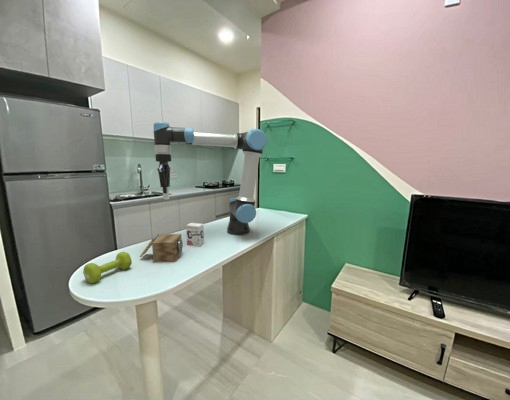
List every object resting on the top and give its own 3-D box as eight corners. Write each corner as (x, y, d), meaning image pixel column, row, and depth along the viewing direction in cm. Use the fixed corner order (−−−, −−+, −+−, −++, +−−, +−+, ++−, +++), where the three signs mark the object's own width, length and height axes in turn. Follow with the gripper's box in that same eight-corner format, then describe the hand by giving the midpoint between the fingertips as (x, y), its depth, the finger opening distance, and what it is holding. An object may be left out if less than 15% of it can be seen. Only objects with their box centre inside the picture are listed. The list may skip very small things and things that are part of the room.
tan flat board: (159, 234, 111) (157, 233, 110) (154, 239, 104) (152, 238, 104) (147, 251, 112) (145, 250, 111) (140, 257, 105) (139, 256, 105)
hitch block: (182, 251, 115) (181, 234, 114) (175, 261, 104) (174, 242, 102) (162, 251, 115) (161, 234, 113) (153, 262, 103) (152, 242, 101)
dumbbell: (92, 286, 83) (90, 268, 82) (82, 281, 87) (79, 264, 86) (134, 268, 97) (133, 253, 96) (123, 264, 101) (122, 249, 100)
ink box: (186, 245, 125) (185, 224, 122) (191, 241, 129) (190, 222, 127) (200, 246, 122) (199, 226, 120) (204, 243, 127) (203, 223, 125)
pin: (182, 248, 112) (182, 238, 111) (179, 253, 106) (179, 242, 105) (157, 249, 111) (157, 238, 110) (153, 254, 106) (152, 242, 105)
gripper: (160, 154, 120) (163, 197, 124) (150, 153, 107) (154, 201, 111) (174, 154, 121) (176, 197, 125) (166, 153, 108) (169, 201, 112)
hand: (166, 199), depth 118 cm, fingers closed
